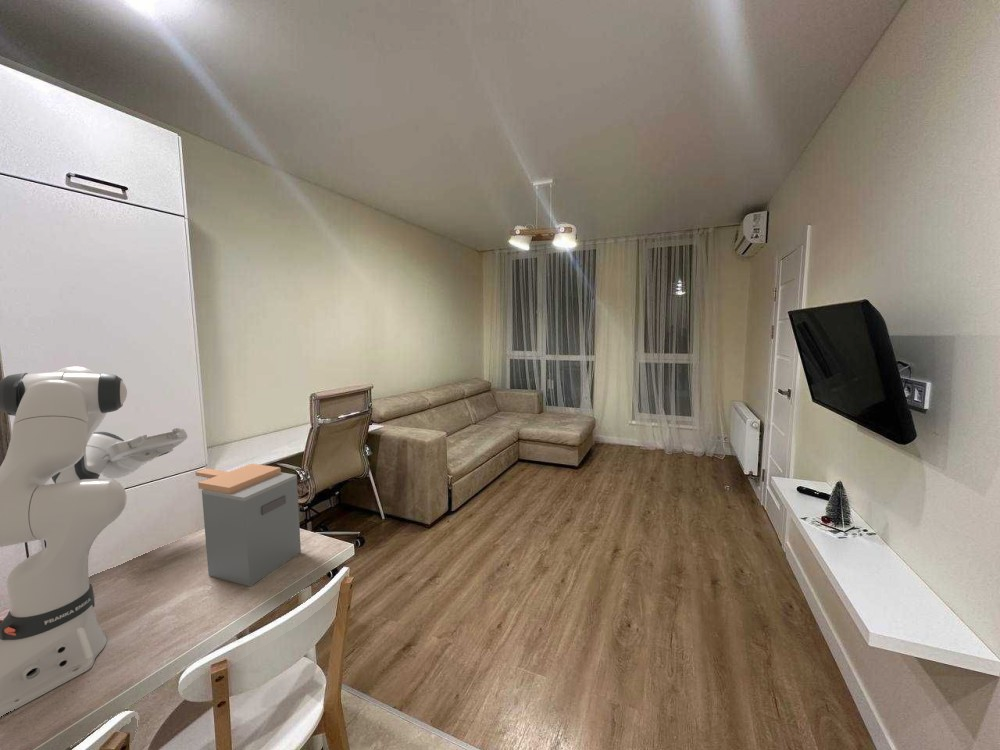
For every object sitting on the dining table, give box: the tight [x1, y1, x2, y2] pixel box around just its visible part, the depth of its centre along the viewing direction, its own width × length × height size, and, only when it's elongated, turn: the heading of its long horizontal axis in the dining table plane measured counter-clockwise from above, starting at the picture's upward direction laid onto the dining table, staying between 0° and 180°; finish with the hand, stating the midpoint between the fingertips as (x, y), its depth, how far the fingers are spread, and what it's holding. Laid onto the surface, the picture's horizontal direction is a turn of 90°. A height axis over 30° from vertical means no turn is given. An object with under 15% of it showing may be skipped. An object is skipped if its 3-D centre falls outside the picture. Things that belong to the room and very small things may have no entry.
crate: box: [201, 471, 302, 587], centre depth 117 cm, size 18×16×26 cm
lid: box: [195, 463, 282, 494], centre depth 119 cm, size 17×23×2 cm
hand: (162, 433), depth 123 cm, fingers open, 8 cm apart
